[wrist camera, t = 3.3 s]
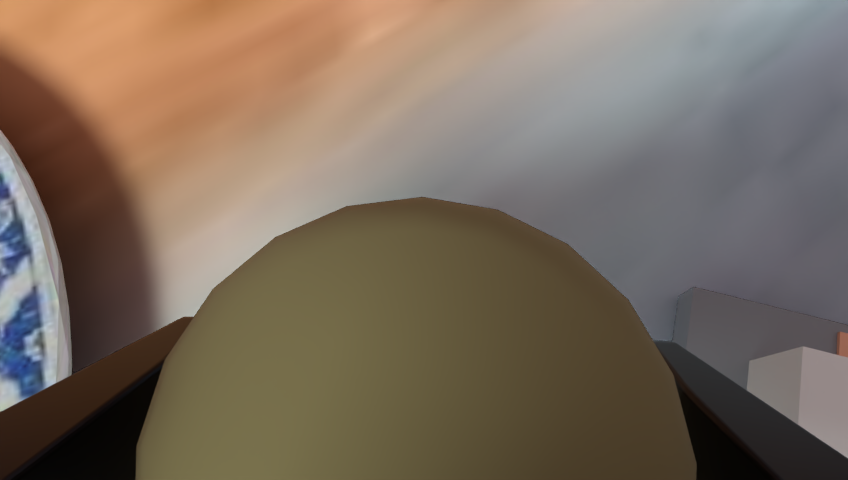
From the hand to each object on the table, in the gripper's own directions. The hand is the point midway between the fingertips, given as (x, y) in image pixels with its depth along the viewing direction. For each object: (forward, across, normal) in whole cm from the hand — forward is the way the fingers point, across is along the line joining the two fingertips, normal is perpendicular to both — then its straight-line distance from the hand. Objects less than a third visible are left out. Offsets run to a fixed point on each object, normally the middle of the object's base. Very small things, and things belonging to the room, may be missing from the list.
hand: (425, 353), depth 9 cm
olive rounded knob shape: (+4, 0, +6) cm, 7 cm away
